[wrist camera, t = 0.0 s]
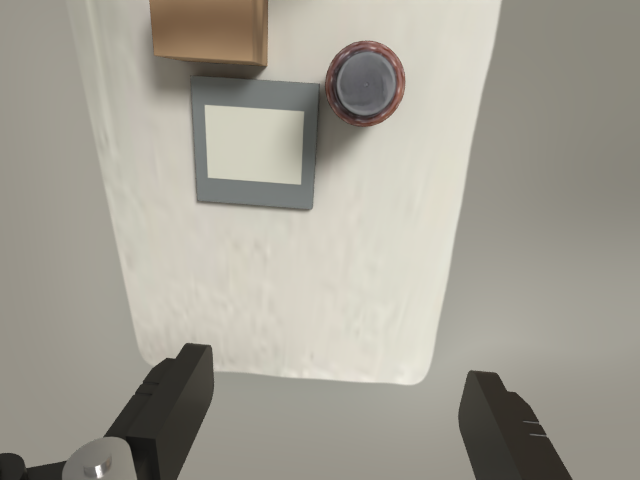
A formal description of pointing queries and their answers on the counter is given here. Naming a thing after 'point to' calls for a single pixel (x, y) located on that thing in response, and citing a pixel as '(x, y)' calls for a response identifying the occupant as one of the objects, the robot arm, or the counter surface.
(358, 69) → the supplement bottle
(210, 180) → the mat
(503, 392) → the robot arm
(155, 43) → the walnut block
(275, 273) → the counter surface
